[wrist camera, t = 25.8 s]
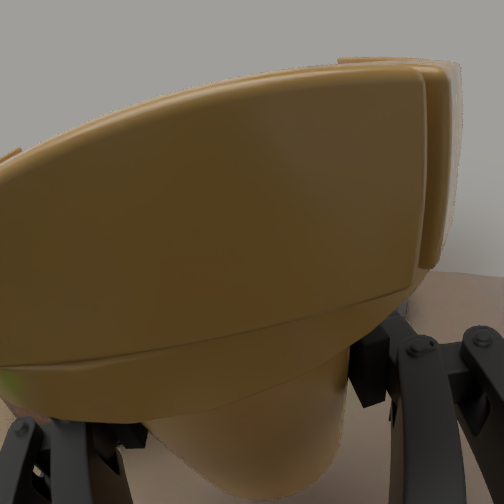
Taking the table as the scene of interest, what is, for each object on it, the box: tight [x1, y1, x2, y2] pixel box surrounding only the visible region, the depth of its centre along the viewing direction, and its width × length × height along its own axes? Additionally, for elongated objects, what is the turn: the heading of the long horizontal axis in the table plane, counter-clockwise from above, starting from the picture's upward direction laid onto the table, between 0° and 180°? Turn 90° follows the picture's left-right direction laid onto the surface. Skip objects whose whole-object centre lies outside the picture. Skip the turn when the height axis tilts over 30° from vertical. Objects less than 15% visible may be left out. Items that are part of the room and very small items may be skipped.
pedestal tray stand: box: [0, 57, 463, 500], centre depth 9 cm, size 11×11×14 cm
